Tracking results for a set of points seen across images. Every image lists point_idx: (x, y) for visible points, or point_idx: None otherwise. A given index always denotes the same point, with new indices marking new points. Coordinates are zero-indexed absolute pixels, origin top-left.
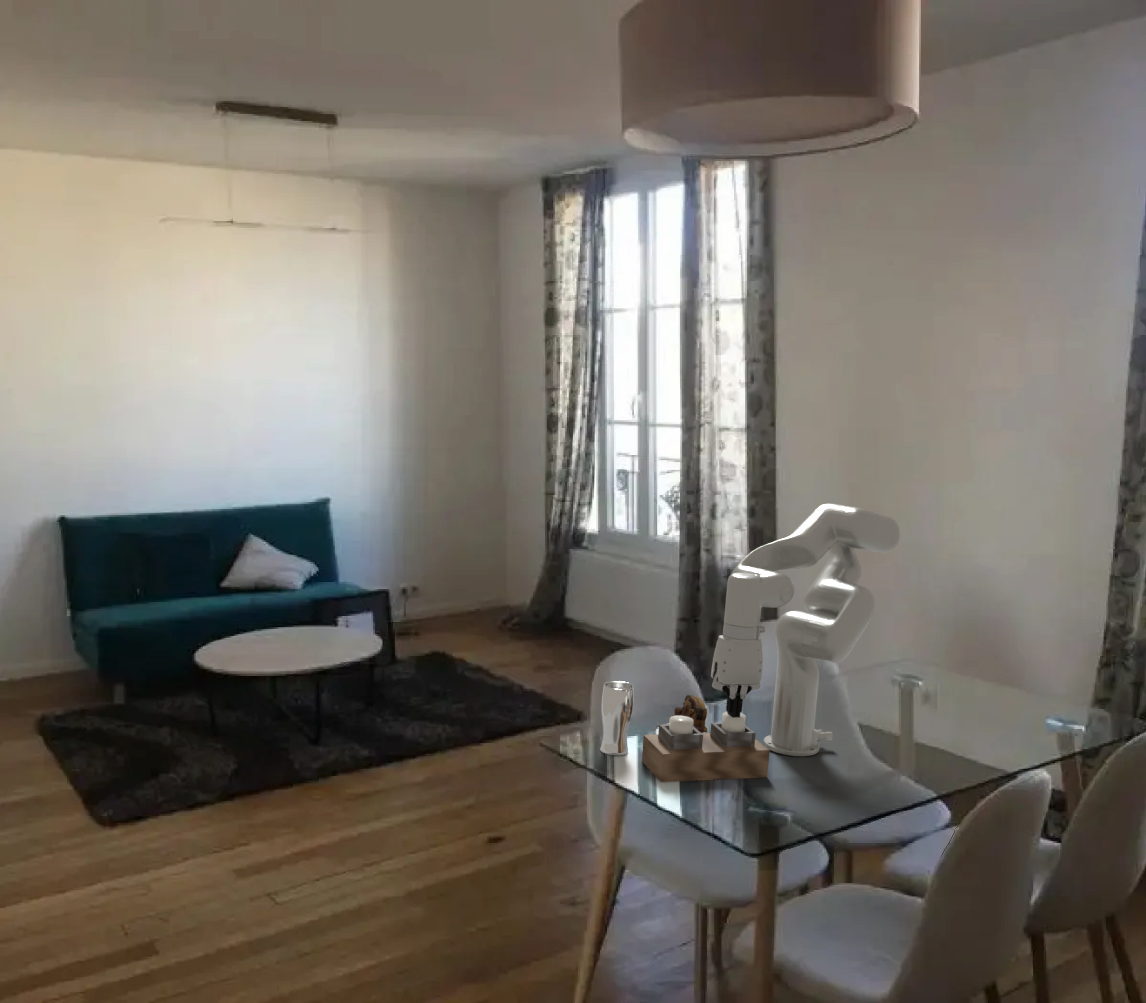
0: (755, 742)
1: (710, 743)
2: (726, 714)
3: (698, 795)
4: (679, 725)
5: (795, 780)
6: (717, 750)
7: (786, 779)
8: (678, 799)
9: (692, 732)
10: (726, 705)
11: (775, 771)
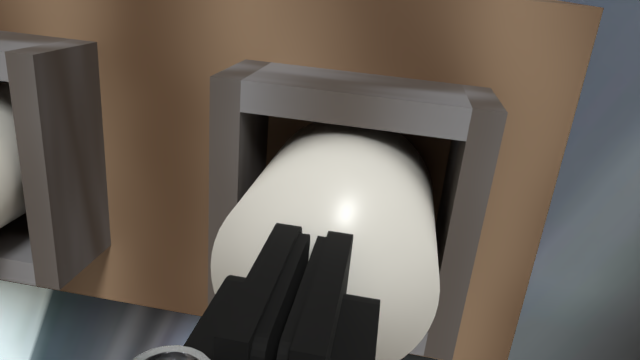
0: (503, 243)
1: (192, 184)
2: (255, 245)
3: (105, 343)
4: None
5: (594, 342)
6: (186, 293)
7: (560, 321)
8: (27, 348)
9: (13, 210)
10: (213, 300)
11: (582, 227)
